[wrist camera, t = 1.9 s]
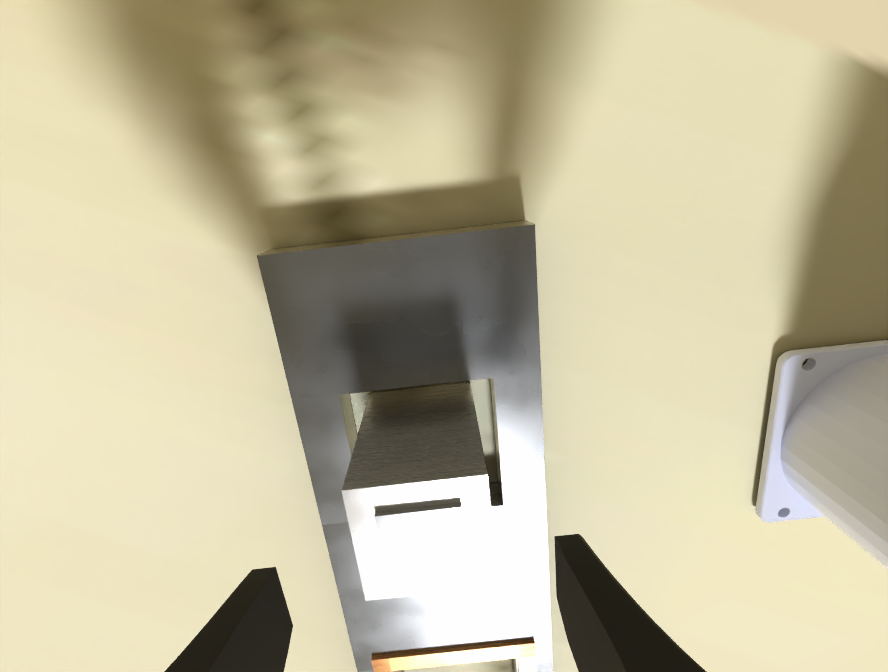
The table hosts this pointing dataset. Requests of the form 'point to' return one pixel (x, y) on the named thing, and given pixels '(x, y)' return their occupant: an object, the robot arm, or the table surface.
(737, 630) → the table surface
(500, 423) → the rail
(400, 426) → the grey rectangular block
